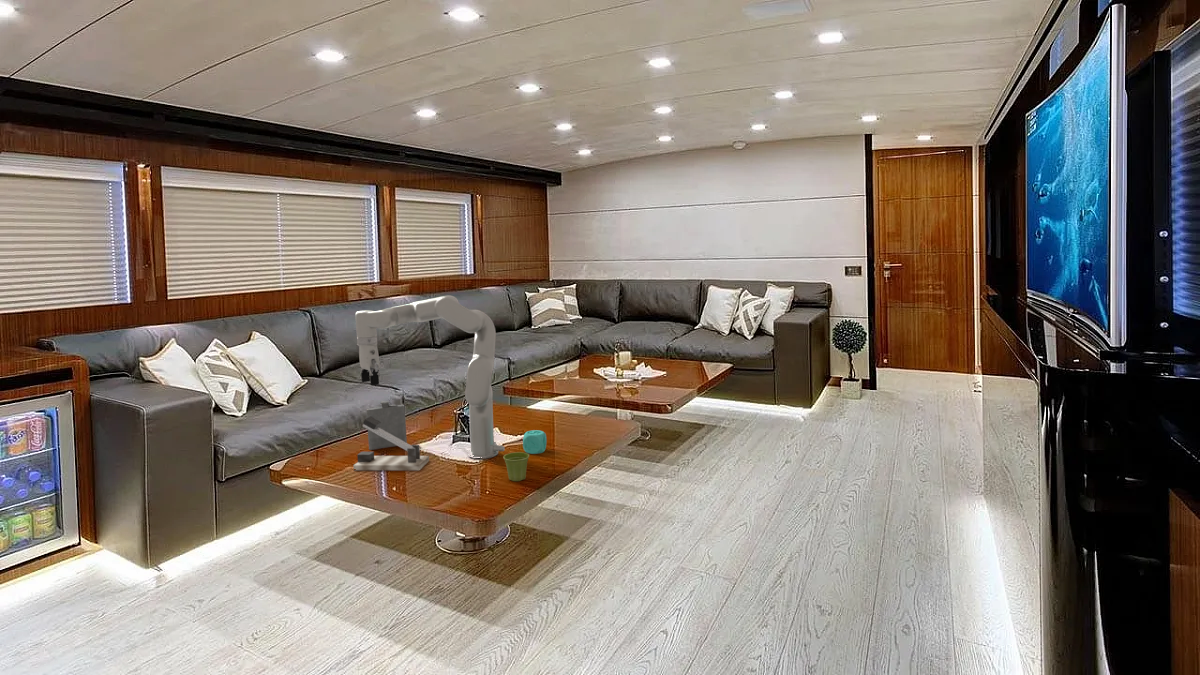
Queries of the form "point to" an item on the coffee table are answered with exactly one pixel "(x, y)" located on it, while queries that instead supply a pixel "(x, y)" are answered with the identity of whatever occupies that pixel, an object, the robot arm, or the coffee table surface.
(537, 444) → the decorative dice
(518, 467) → the plant pot
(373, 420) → the lever
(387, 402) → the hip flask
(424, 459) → the base
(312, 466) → the coffee table surface
